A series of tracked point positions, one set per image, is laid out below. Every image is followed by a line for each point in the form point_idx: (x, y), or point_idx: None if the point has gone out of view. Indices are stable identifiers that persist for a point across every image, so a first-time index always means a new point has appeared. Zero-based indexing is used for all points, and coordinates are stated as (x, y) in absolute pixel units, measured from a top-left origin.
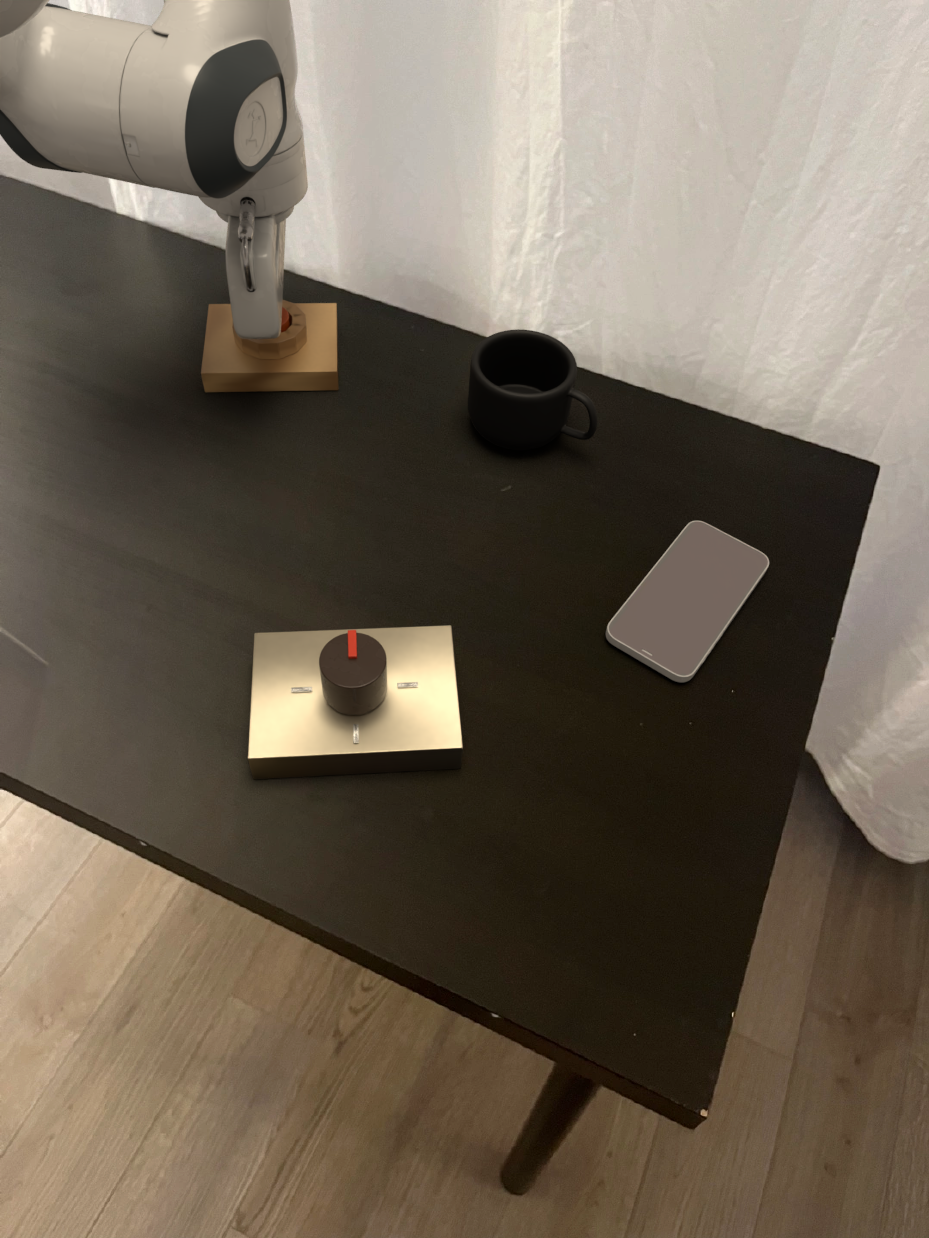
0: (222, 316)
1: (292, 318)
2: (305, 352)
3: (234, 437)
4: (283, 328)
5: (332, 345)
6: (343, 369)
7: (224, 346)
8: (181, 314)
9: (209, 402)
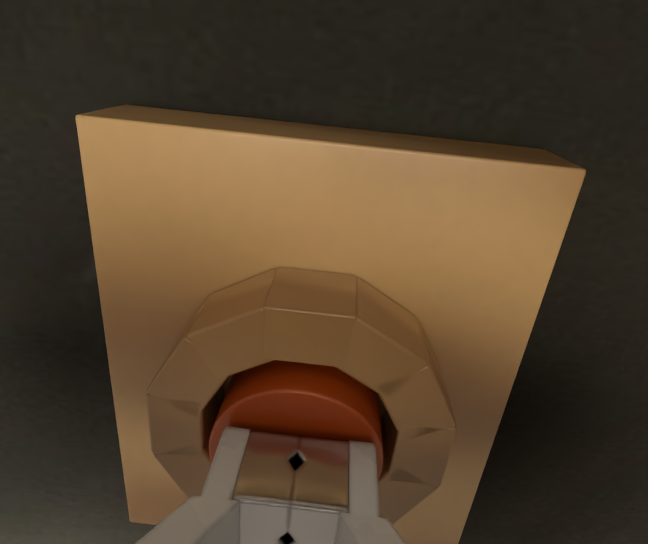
0: None
1: (291, 360)
2: (422, 286)
3: (641, 454)
4: (363, 402)
5: (396, 170)
6: (421, 113)
7: None
8: (123, 516)
9: (480, 491)
